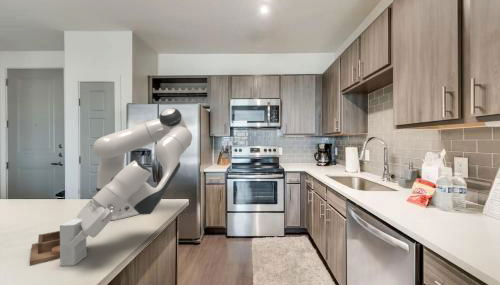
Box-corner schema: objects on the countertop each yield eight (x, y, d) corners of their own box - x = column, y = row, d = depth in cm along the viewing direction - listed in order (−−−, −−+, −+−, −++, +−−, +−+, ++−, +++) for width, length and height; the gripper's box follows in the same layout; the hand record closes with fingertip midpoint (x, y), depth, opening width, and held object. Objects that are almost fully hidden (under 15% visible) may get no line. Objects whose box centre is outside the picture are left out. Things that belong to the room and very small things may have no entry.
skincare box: (72, 256, 76) (72, 218, 76) (86, 256, 77) (86, 218, 77) (59, 266, 70) (59, 225, 70) (74, 265, 71) (74, 224, 71)
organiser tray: (81, 237, 92) (81, 226, 92) (87, 251, 80) (87, 238, 80) (31, 247, 83) (31, 235, 83) (29, 265, 71) (29, 251, 71)
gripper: (123, 214, 73) (84, 257, 67) (109, 202, 89) (76, 235, 82) (106, 202, 70) (63, 245, 64) (95, 191, 86) (60, 225, 79)
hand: (71, 239), depth 73 cm, fingers closed on skincare box, 7 cm apart
